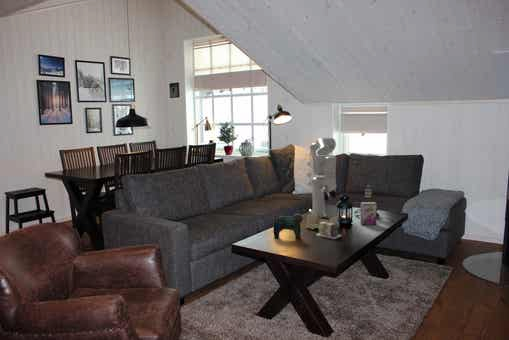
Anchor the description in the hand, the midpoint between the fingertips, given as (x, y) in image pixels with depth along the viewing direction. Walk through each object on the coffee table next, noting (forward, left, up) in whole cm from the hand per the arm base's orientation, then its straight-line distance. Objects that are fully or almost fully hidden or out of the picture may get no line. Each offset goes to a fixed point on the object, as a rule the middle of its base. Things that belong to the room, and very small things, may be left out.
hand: (329, 198), depth 295 cm
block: (+3, -6, -24) cm, 25 cm away
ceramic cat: (-16, -27, -25) cm, 40 cm away
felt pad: (+3, -6, -24) cm, 25 cm away
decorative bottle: (+3, +56, -24) cm, 61 cm away
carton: (-10, +8, -24) cm, 27 cm away
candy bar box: (+13, +35, -24) cm, 44 cm away
